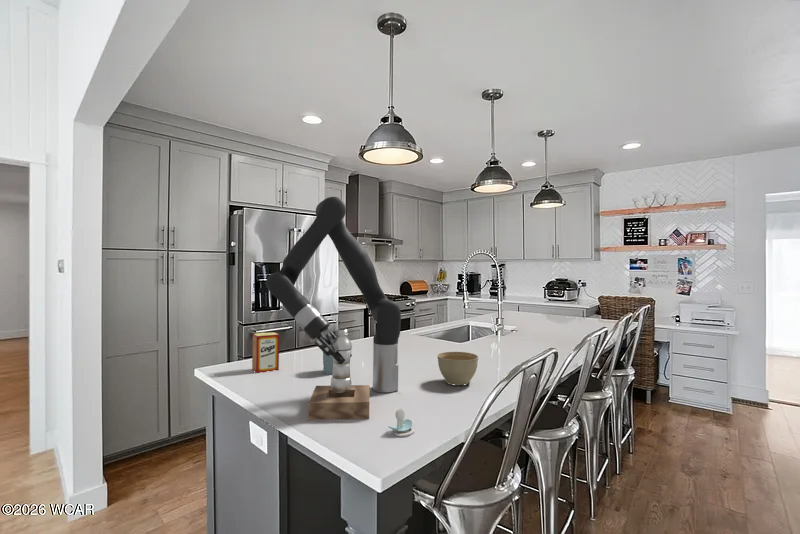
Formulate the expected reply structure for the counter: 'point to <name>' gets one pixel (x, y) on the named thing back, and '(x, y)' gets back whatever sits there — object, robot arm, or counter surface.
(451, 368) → the planter bowl
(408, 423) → the pacifier
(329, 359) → the drinking glass
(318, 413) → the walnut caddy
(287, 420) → the counter surface
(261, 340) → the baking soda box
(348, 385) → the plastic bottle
